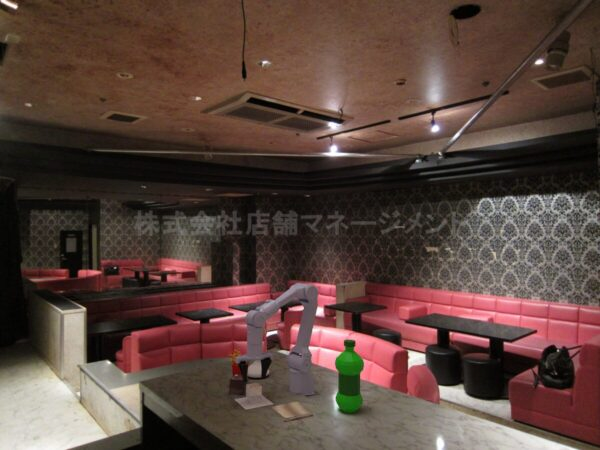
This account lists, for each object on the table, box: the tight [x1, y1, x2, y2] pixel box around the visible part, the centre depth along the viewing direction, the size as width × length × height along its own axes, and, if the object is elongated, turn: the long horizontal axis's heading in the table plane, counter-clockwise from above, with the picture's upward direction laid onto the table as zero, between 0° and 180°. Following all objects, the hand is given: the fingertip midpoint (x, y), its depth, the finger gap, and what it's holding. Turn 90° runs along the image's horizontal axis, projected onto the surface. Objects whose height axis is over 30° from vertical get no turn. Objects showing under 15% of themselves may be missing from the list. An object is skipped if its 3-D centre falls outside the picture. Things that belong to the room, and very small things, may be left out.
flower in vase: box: [247, 325, 270, 379], centre depth 193 cm, size 13×11×25 cm
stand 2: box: [271, 401, 314, 424], centre depth 150 cm, size 11×11×2 cm
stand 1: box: [234, 395, 274, 410], centre depth 157 cm, size 11×11×2 cm
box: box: [229, 375, 249, 396], centre depth 167 cm, size 6×6×7 cm
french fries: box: [228, 349, 250, 377], centre depth 176 cm, size 9×8×15 cm
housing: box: [245, 382, 263, 405], centre depth 157 cm, size 4×4×6 cm
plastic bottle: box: [334, 339, 365, 414], centre depth 154 cm, size 10×10×25 cm
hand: (254, 380), depth 157 cm, fingers open, 7 cm apart
